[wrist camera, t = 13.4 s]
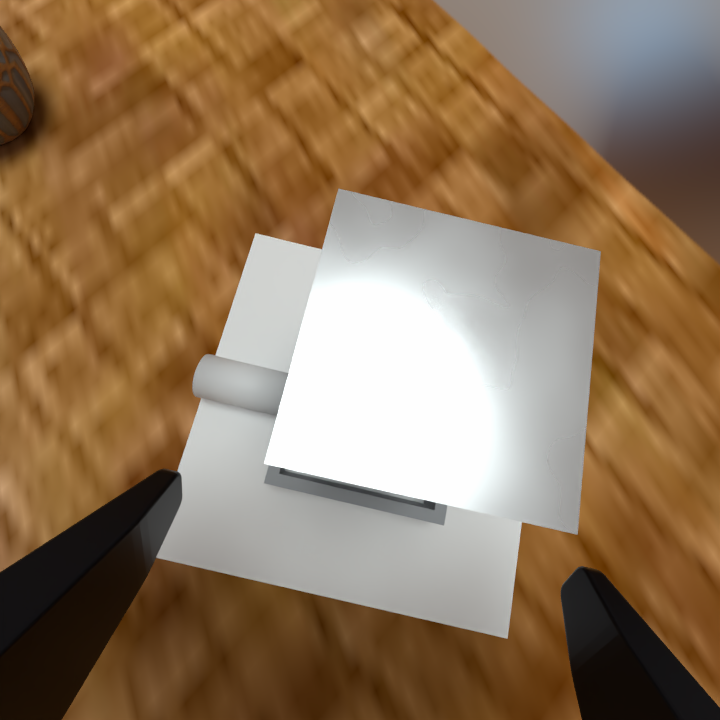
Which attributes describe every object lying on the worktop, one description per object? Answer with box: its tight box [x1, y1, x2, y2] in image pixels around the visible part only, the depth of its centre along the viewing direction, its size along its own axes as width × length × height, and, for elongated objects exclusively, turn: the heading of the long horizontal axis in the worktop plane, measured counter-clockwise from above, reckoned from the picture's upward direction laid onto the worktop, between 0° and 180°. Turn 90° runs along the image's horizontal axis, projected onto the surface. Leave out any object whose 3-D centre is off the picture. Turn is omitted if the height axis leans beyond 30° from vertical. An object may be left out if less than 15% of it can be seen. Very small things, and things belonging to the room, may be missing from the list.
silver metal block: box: [264, 189, 601, 535], centre depth 12 cm, size 5×5×13 cm
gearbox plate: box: [156, 234, 522, 639], centre depth 18 cm, size 16×16×4 cm
